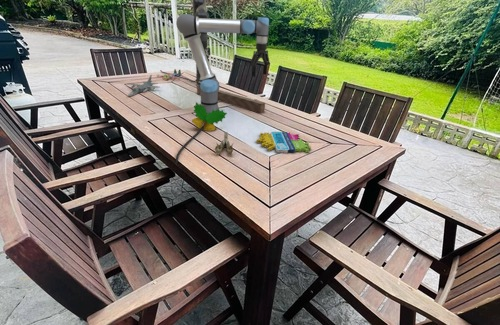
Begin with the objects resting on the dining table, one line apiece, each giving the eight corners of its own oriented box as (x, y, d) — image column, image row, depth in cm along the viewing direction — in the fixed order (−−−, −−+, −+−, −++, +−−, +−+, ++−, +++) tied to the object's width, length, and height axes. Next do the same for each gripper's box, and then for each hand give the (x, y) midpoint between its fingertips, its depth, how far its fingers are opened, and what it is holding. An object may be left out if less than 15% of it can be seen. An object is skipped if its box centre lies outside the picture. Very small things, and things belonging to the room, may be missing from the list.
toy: (189, 70, 290) (176, 74, 264) (189, 77, 293) (177, 81, 267) (166, 67, 295) (151, 71, 269) (167, 74, 298) (152, 78, 272)
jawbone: (234, 135, 144) (233, 125, 135) (233, 160, 138) (232, 151, 129) (217, 135, 144) (216, 125, 135) (216, 160, 138) (214, 150, 129)
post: (264, 112, 200) (265, 102, 197) (260, 113, 197) (261, 104, 193) (201, 92, 237) (201, 84, 234) (197, 93, 234) (196, 85, 230)
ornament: (218, 133, 171) (224, 110, 169) (221, 134, 163) (227, 111, 161) (186, 125, 162) (192, 101, 160) (189, 126, 155) (195, 101, 153)
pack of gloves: (313, 150, 142) (258, 149, 139) (312, 153, 143) (258, 152, 140) (301, 132, 164) (254, 130, 161) (301, 134, 165) (254, 133, 162)
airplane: (122, 86, 238) (120, 75, 233) (157, 84, 251) (156, 73, 246) (126, 99, 210) (124, 86, 204) (166, 95, 223) (165, 83, 218)
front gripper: (267, 42, 189) (264, 72, 199) (245, 43, 171) (244, 76, 181) (276, 43, 185) (273, 74, 195) (254, 44, 167) (252, 78, 178)
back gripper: (206, 39, 217) (206, 60, 225) (192, 39, 207) (193, 61, 215) (212, 40, 213) (212, 61, 221) (199, 40, 203) (199, 62, 211)
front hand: (259, 75), depth 188 cm, fingers open, 13 cm apart
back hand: (203, 61), depth 218 cm, fingers open, 8 cm apart
